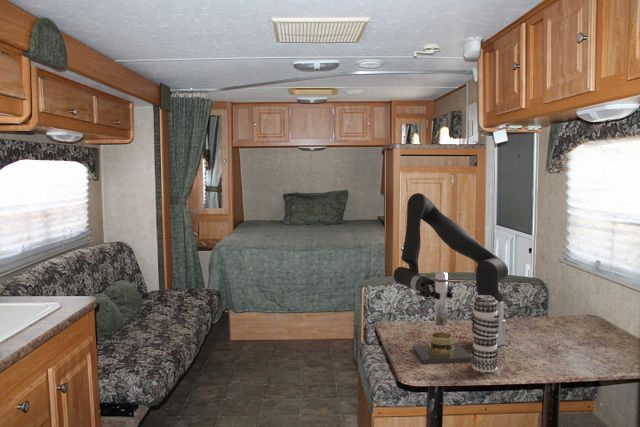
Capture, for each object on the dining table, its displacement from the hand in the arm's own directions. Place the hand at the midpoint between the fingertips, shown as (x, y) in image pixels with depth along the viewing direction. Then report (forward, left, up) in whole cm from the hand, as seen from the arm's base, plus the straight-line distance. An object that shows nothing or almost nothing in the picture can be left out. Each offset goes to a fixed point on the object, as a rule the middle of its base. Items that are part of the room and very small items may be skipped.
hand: (445, 296), depth 181 cm
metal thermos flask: (+1, -3, -11) cm, 11 cm away
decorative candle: (-11, +10, -23) cm, 27 cm away
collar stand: (0, -3, -23) cm, 23 cm away
